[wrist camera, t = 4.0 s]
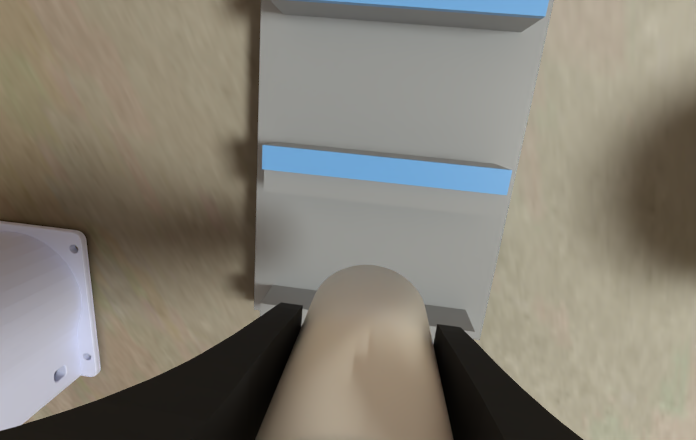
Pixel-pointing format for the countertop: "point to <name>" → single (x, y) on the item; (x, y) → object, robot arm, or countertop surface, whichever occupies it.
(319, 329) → the grey-capped cream cylinder
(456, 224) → the grey and blue rack
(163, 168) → the countertop surface
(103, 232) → the countertop surface
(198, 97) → the countertop surface
